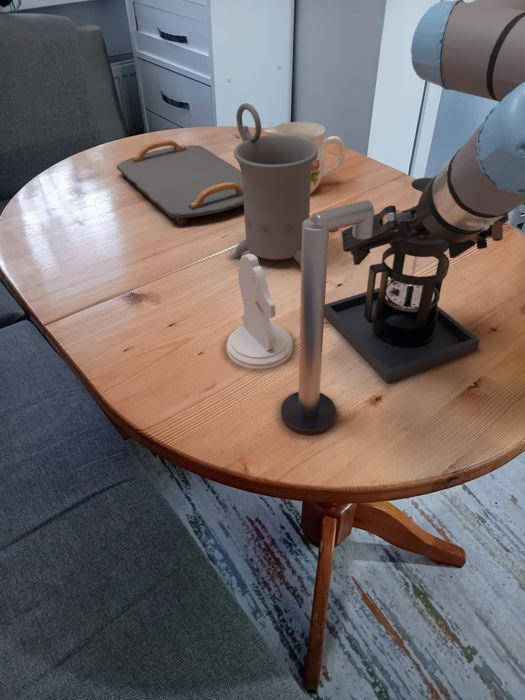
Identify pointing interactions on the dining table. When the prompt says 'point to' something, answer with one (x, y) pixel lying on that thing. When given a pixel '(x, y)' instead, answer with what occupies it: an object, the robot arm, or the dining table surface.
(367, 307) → the french press
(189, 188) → the serving tray
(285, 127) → the pitcher
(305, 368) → the tap
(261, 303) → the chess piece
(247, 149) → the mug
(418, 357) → the drip tray
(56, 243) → the dining table surface
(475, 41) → the robot arm
